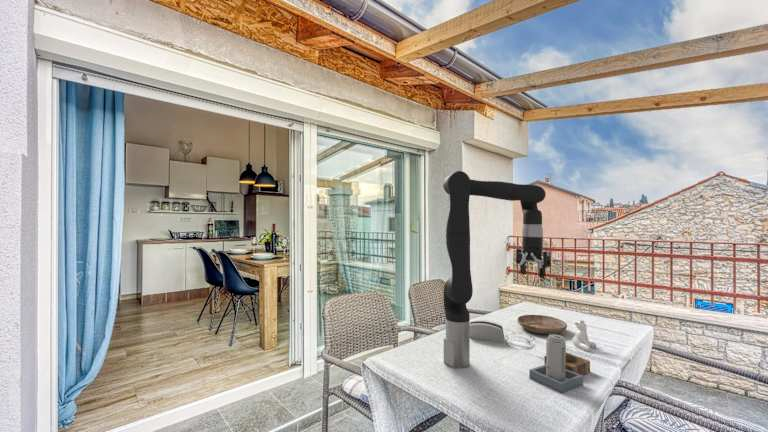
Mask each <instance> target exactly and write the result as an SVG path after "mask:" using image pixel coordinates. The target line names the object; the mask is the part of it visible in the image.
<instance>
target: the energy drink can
mask: <svg viewBox="0 0 768 432" xmlns="http://www.w3.org/2000/svg"><path fill="white" fill-rule="evenodd" d="M547 335H548V337H547V338H546V341H545V342H546V343H545V344H546V346H545V347H546V350H545V351H546V353H545V354H546V355H545V356H546V376H548V377H550V378H553V379H555V380H557V381H559V382H562V381H564V380H565V371H566V353H567V350H566V349H567V348H566V347H567V345H566V344H567V343H566V340H565V338H564V336H562V335H560V334H547Z"/></svg>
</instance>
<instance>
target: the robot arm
mask: <svg viewBox="0 0 768 432" xmlns="http://www.w3.org/2000/svg"><path fill="white" fill-rule="evenodd" d="M442 187H443V190H444V192H445V193H447V194H448V195H449V212H448V216H447V217H448V218H447V222H446V228H445V229H446V230H445V242H446V243H445V244H446V249H447V253H448V257H449V260H450V263H451V273H452V274H451V277H450V278H448V279H447V280H445V281H446V282H445V283H444V286H443V310H444V313H445V337H444V338H443V363H444V364H446V365H447V366H450V367H451V368H453V369H456V368H458V369H459V368H460V369H461V368H462V369H463V368H467V367H468V366H470V363H471V362H470V361H471V360H470V352H471V351H470V345H471V343H470V339H471V337H470V322H471V320H470V312H469V310H468V308H467V304H468V303H469V302H470V300H471V299H472V296H473V293H474V292H473V290H474V289H473V282H472V281H473V280H472V273H471V228H470V227H471V226H470V223H471V221H470V196H475V197H477V196H478V197H483V198H492V199H497V200H503V201H511V202H515V201H518V202H520V206H521V212H522V230H521V231H522V235H521V236H522V238H521V239H522V242H521V243H522V246H521V247H523V248H517V249H516V251H515V252H516V254H515V256H516V257H515V263H516V264H519V267H520V272H519V273H520V274H521V276H523V275H524V276H525V275H526V274H527V263H528V262H535V263H536V264H537V265H538V267H539V268H538V272H539V273H538V276H539V278H540V279H543V278H545V277H546V269H547V268H550V267H551V265H552V264H551V252H550V251H547V250H546V251H543V247H544V241H543V240H544V233H543V232H544V229H543V213H542V211H541V210H540V209H538V208H539V207H538V204H539V203H541V202H543V201H544V200H545V199H546V191H545V189H544V188H543V187H542V186H541V185H537V184H523V183H522V184H520V183H519V184H518V183H514V182H507V181H500V180H499V181H496V180H495V181H491V180H476V179H470V176H469V175H468V173H466V172H464V171H462V170H458V171H454V172H452V173H450V174H449V175H447V176H446V177H445V179H444V180H443V183H442Z"/></svg>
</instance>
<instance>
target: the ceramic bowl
mask: <svg viewBox="0 0 768 432" xmlns="http://www.w3.org/2000/svg"><path fill="white" fill-rule="evenodd" d="M516 321H517V323H518V324H519V325H520V326H521V327H522V328H524V329H525V330H528V331H529V332H533V333H535V334H540V335H541V334H542V335H550V334H556V335H558V334H561V333H563V332H565V331H566V329H567V328H568V325H567V322H565V321H563V320H562V319H560V318H557V317H553V316H548V315H543V314H524V315H519V316H518V317H517V320H516Z"/></svg>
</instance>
